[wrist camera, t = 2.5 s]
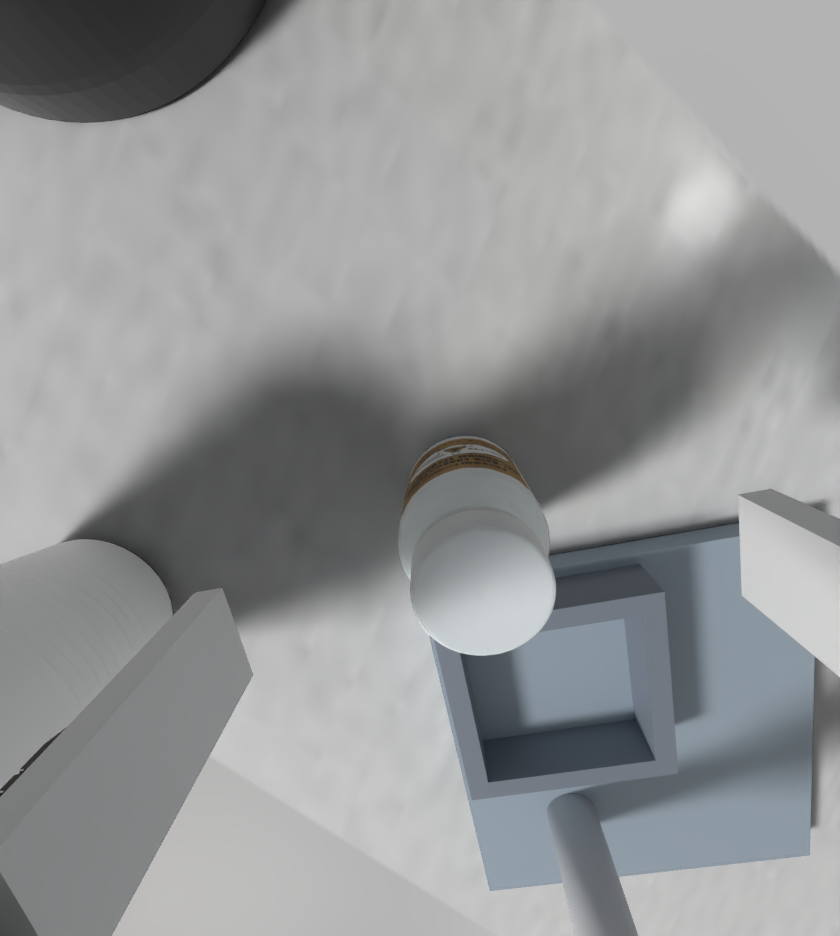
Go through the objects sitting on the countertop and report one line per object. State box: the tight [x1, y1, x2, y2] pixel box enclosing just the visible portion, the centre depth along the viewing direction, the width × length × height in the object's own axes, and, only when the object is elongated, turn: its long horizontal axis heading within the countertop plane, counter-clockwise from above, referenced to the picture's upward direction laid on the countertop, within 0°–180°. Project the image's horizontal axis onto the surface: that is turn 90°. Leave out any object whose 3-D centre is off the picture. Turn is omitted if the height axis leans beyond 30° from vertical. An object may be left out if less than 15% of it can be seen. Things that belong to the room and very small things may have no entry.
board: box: [429, 523, 815, 936], centre depth 16 cm, size 17×15×10 cm
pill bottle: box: [398, 436, 556, 656], centre depth 15 cm, size 4×4×8 cm
